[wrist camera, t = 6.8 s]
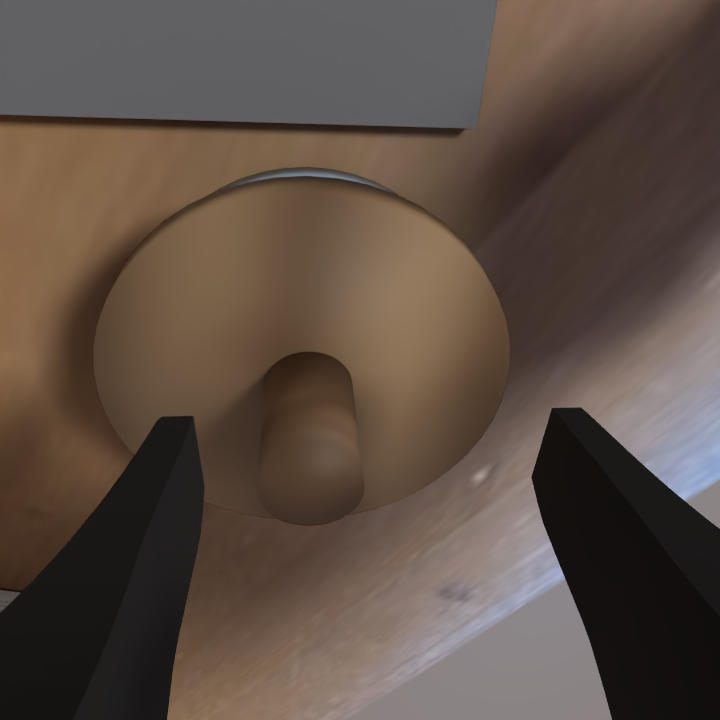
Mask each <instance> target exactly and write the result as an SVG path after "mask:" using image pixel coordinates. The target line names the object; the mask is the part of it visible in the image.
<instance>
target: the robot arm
mask: <svg viewBox="0 0 720 720" xmlns="http://www.w3.org/2000/svg"><path fill="white" fill-rule="evenodd" d="M532 481H533V485H534V489H535V494H536V498H537V502H538V506H539V509H540V513H541V517H542V520H543V524H544V526H545V529H546V531H547V534H548V536H549V539H550V542H551V544H552V547H553V549H554V552H555V554H556V557H557V559H558V562H559V564H560V567H561V569H562V571H563V574H564V576H565V579H566V581H567V584H568V586H569V589H570V591H571V594H572V596H573V598H574V601H575V603H576V606H577V608H578V611H579V613H580V616H581V618H582V621H583V623H584V626H585V629H586V632H587V635H588V637H589V640H590V643H591V646H592V650H593V653H594V657H595V660H596V663H597V667H598V670H599V674H600V677H601V681H602V684H603V687H604V691H605V694H606V698H607V702H608V706H609V709H610V713H611V717H612V720H720V529H719V528H718V527H716V526H715V525H714V524H712V523H711V522H710V521H709V520H707V519H706V518H705V517H704V516H702V515H701V514H700V513H699V512H697V511H696V510H695V509H694V508H692V507H691V506H690V505H689V504H688V503H686V502H685V501H684V500H683V499H681V498H680V497H679V496H678V495H677V494H675V493H674V492H673V491H672V490H671V489H670V488H668V487H667V486H666V485H665V484H664V483H663V482H662V481H660V480H659V479H658V478H657V477H656V476H655V475H654V474H653V473H651V472H650V471H649V470H648V469H647V468H646V467H645V466H644V465H643V464H641V463H640V462H639V461H638V460H637V459H636V458H635V457H634V456H633V455H632V454H631V453H629V452H628V451H627V450H626V449H625V448H624V447H623V446H622V445H621V444H620V443H619V442H618V441H617V440H616V439H615V438H613V437H612V436H611V435H610V434H609V433H608V432H607V431H606V430H605V429H604V428H603V427H602V426H601V425H600V424H599V423H597V422H596V421H595V420H594V419H593V418H592V417H591V416H590V415H589V414H588V413H587V412H585V411H584V410H583V409H582V408H552V410H551V414H550V417H549V420H548V424H547V427H546V430H545V434H544V437H543V440H542V444H541V447H540V450H539V454H538V457H537V461H536V464H535V467H534V471H533V474H532ZM204 490H205V486H204V480H203V473H202V467H201V461H200V454H199V448H198V442H197V436H196V429H195V423H194V417H193V416H165V417H161V418H159V419H158V420H157V421H156V423H155V424H154V426H153V428H152V429H151V431H150V432H149V434H148V436H147V437H146V439H145V440H144V442H143V443H142V445H141V447H140V448H139V450H138V451H137V453H136V454H135V456H134V457H133V459H132V460H131V461H130V463H129V464H128V466H127V467H126V469H125V470H124V472H123V473H122V474H121V476H120V477H119V478H118V480H117V481H116V483H115V484H114V485H113V487H112V488H111V489H110V491H109V492H108V493H107V495H106V496H105V498H104V499H103V500H102V502H101V503H100V504H99V505H98V507H97V508H96V509H95V510H94V512H93V513H92V514H91V515H90V516H89V518H88V519H87V520H86V521H85V523H84V524H83V525H82V526H81V527H80V529H79V530H78V531H77V532H76V534H75V535H74V536H73V537H72V538H71V540H70V541H69V542H68V543H67V544H66V545H65V547H64V548H63V549H62V550H61V551H60V552H59V553H58V554H57V556H56V557H55V558H54V559H53V560H52V561H51V562H50V563H49V564H48V565H47V566H46V567H45V568H44V570H43V571H42V572H41V573H40V574H39V575H38V576H37V577H36V578H35V579H34V580H33V581H32V582H31V583H30V584H29V585H28V586H27V587H26V588H25V589H24V590H23V591H22V592H21V593H20V594H19V595H18V596H17V597H16V598H15V599H14V600H13V601H12V602H11V603H10V604H9V605H7V606H6V607H5V608H4V609H3V610H2V611H1V612H0V720H167V714H168V706H169V697H170V689H171V680H172V672H173V664H174V659H175V653H176V647H177V641H178V637H179V632H180V628H181V623H182V618H183V614H184V609H185V604H186V600H187V595H188V591H189V586H190V581H191V577H192V572H193V567H194V563H195V558H196V553H197V549H198V544H199V539H200V533H201V523H202V513H203V502H204Z"/></svg>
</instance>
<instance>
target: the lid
mask: <svg viewBox="0 0 720 720" xmlns="http://www.w3.org/2000/svg"><path fill="white" fill-rule="evenodd" d="M509 367H510V339H509V333H508V328H507V322H506V318H505V315H504V313H503V310H502V307H501V304H500V301H499V299H498V297H497V295H496V293H495V291H494V289H493V287H492V285H491V283H490V281H489V279H488V277H487V275H486V273H485V271H484V270H483V268H482V266H481V264H480V263H479V261H478V259H477V258H476V257H475V255H474V254H473V253H472V252H471V250H470V249H469V248H468V246H467V245H466V244H465V243H464V241H463V240H462V239H461V238H460V237H459V236H458V235H456V234H455V233H454V232H453V231H452V230H451V229H450V228H449V227H448V226H447V225H446V224H445V223H444V222H442V221H441V220H439V219H438V218H436V217H435V216H434V215H432V214H431V213H429V212H428V211H426V210H425V209H424V208H422V207H420V206H418V205H416V204H414V203H412V202H410V201H408V200H406V199H405V198H403V197H401V196H399V195H397V194H394V193H391V192H388V191H385V190H383V189H380V188H377V187H374V186H371V185H368V184H364V183H359V182H354V181H349V180H344V179H339V178H329V177H316V176H293V177H274V178H269V179H263V180H258V181H252V182H247V183H242V184H239V185H236V186H233V187H230V188H227V189H224V190H221V191H218V192H215V193H212V194H210V195H208V196H206V197H204V198H202V199H200V200H198V201H196V202H194V203H192V204H189V205H187V206H186V207H184V208H183V209H181V210H180V211H178V212H177V213H175V214H174V215H172V216H171V217H169V218H168V219H166V220H165V221H163V222H162V223H161V224H160V225H159V226H158V227H157V228H156V229H155V230H153V231H152V232H151V233H150V234H149V235H148V236H147V237H146V238H145V239H143V241H142V242H141V243H140V244H139V246H138V247H137V248H136V249H135V250H134V252H133V253H132V254H131V255H130V257H129V258H128V259H127V260H126V262H125V264H124V266H123V267H122V269H121V271H120V273H119V275H118V276H117V278H116V280H115V282H114V284H113V286H112V288H111V290H110V293H109V295H108V297H107V299H106V301H105V304H104V307H103V310H102V312H101V315H100V318H99V321H98V324H97V329H96V334H95V340H94V346H93V370H94V376H95V381H96V387H97V392H98V395H99V398H100V400H101V403H102V406H103V409H104V412H105V414H106V415H107V417H108V419H109V421H110V423H111V425H112V426H113V428H114V430H115V432H116V433H117V434H118V436H119V437H120V438H121V440H122V441H123V442H124V444H125V445H126V447H127V448H128V449H129V450H130V451H131V452H132V453H133V454H134V455H135V454H136V453H137V451H138V450H139V448H140V447H141V445H142V443H143V442H144V440H145V439H146V437H147V436H148V434H149V432H150V431H151V429H152V428H153V426H154V424H155V423H156V421H157V420H158V419H159V418H161V417H165V416H193V417H194V423H195V429H196V436H197V442H198V448H199V454H200V461H201V467H202V473H203V480H204V486H205V490H204V502H207V503H209V504H212V505H215V506H217V507H220V508H223V509H227V510H231V511H234V512H238V513H242V514H247V515H253V516H259V517H264V518H275V519H279V520H281V521H284V522H287V523H291V524H295V525H304V526H313V525H322V524H327V523H330V522H333V521H336V520H339V519H341V518H343V517H345V516H346V515H351V514H356V513H360V512H364V511H367V510H371V509H375V508H378V507H381V506H384V505H386V504H389V503H392V502H395V501H397V500H399V499H401V498H404V497H406V496H408V495H410V494H412V493H414V492H416V491H418V490H420V489H421V488H423V487H425V486H427V485H428V484H430V483H432V482H433V481H435V480H436V479H438V478H439V477H440V476H442V475H443V474H444V473H446V472H447V471H449V470H450V469H451V468H452V467H453V466H455V465H456V464H457V463H458V462H459V461H460V460H461V459H462V458H463V457H464V456H465V455H467V453H468V452H469V451H470V450H471V449H472V448H473V447H474V445H475V444H476V443H477V442H478V441H479V440H480V438H481V437H482V435H483V434H484V432H485V431H486V429H487V428H488V426H489V425H490V423H491V422H492V420H493V418H494V416H495V414H496V412H497V410H498V408H499V405H500V403H501V401H502V397H503V394H504V391H505V388H506V385H507V380H508V373H509Z"/></svg>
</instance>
